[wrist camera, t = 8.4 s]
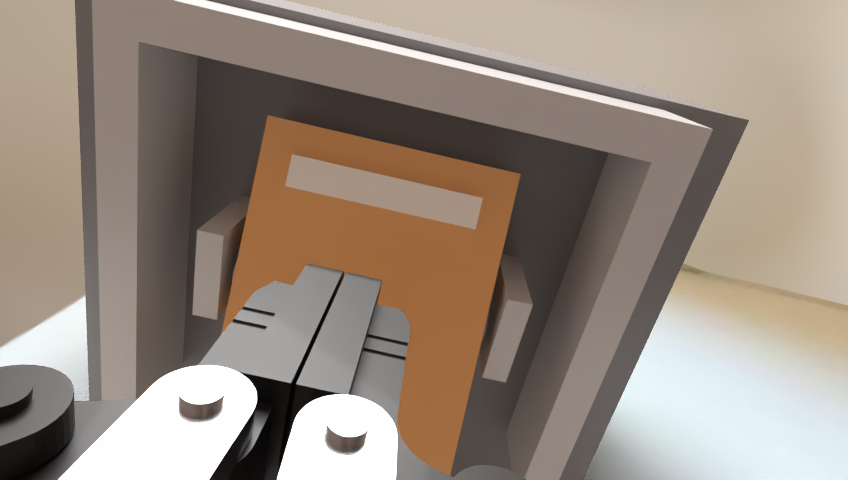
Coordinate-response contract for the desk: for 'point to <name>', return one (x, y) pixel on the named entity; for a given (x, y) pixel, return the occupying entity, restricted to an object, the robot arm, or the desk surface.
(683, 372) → the desk surface
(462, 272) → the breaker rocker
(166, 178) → the box
